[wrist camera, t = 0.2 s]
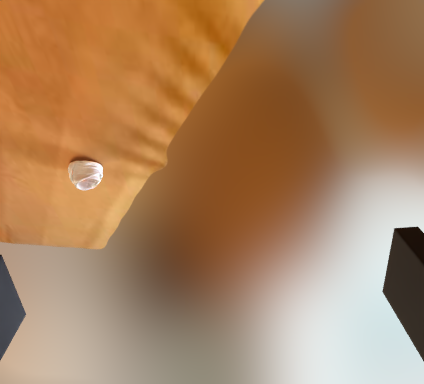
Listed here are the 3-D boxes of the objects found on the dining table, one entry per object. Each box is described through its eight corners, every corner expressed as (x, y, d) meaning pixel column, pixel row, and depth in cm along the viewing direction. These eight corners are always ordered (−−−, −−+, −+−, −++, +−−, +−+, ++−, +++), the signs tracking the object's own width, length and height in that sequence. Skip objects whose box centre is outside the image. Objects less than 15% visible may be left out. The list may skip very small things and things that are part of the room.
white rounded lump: (69, 150, 71) (63, 171, 68) (106, 157, 72) (102, 178, 70) (69, 173, 77) (64, 193, 75) (102, 179, 79) (99, 199, 76)
